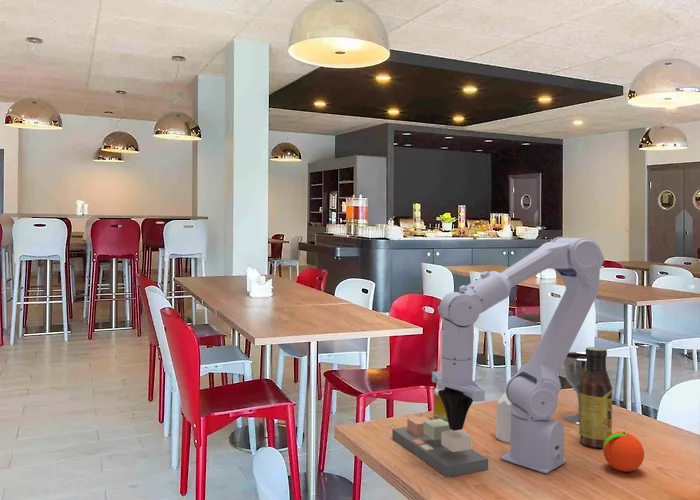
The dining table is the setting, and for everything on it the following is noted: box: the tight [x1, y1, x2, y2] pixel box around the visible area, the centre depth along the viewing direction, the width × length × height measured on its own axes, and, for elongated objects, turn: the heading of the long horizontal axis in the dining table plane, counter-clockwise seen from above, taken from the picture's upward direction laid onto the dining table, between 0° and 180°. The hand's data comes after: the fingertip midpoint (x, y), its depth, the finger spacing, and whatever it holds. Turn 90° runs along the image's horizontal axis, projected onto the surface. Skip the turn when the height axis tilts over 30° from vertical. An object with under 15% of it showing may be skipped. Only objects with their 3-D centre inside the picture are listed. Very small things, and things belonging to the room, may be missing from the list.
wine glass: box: [562, 351, 587, 425], centre depth 138 cm, size 8×8×15 cm
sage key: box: [423, 419, 451, 440], centre depth 116 cm, size 4×4×2 cm
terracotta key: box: [406, 415, 430, 437], centre depth 122 cm, size 4×4×2 cm
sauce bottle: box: [578, 346, 613, 449], centre depth 122 cm, size 7×6×20 cm
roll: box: [495, 391, 511, 444], centre depth 125 cm, size 6×12×6 cm
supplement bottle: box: [433, 385, 448, 422], centre depth 136 cm, size 5×5×10 cm
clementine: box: [602, 431, 645, 473], centre depth 109 cm, size 8×7×7 cm
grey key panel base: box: [391, 426, 489, 478], centre depth 117 cm, size 21×9×2 cm, turn 23°
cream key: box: [441, 429, 472, 452], centre depth 110 cm, size 4×4×2 cm
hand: (456, 429), depth 110 cm, fingers closed
